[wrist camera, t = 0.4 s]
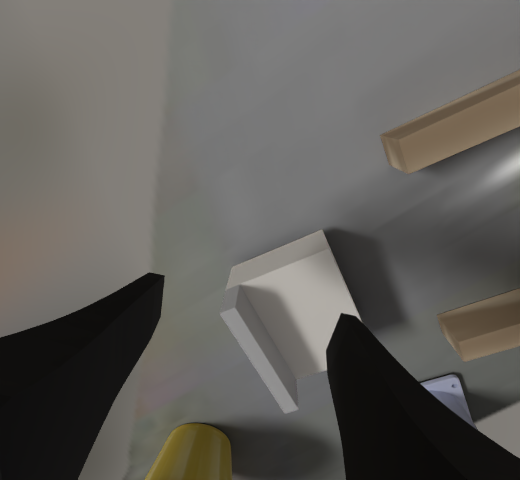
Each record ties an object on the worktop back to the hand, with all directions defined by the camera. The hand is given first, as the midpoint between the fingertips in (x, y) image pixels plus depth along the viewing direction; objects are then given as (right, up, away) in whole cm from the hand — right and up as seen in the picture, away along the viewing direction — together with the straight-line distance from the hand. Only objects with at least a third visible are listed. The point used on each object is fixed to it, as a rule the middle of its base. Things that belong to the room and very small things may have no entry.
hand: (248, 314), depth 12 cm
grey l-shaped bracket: (+4, -1, +11) cm, 12 cm away
